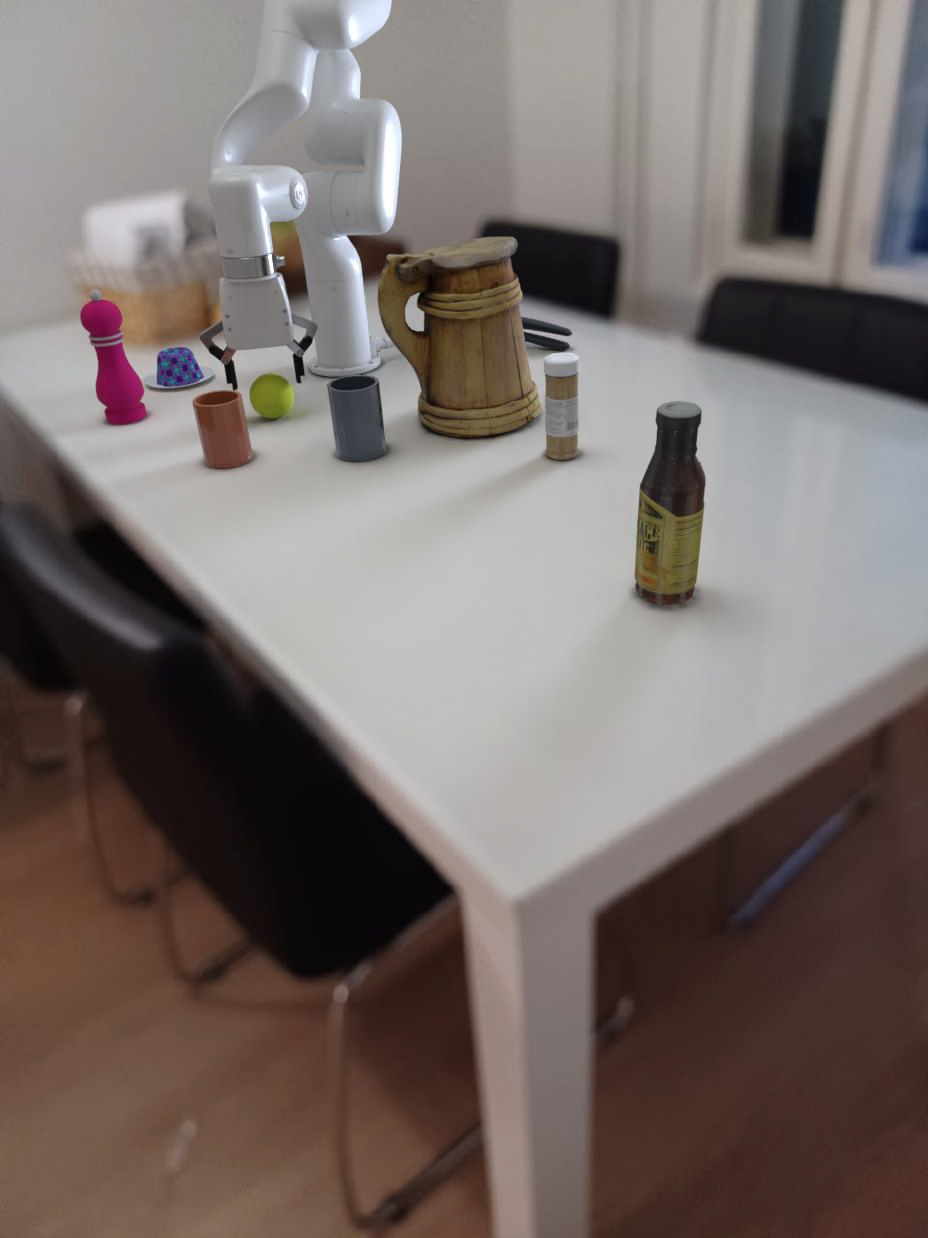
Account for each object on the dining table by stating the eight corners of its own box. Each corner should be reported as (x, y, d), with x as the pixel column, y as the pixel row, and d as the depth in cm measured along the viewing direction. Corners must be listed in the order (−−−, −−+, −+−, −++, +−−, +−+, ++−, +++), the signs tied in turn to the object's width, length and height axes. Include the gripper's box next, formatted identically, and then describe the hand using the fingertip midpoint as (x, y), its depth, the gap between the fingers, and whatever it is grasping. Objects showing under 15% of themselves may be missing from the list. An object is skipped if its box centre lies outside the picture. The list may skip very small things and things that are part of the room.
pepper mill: (136, 426, 149) (103, 295, 139) (95, 425, 151) (59, 295, 140) (158, 410, 155) (127, 283, 145) (117, 409, 157) (85, 284, 146)
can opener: (475, 345, 176) (474, 314, 173) (494, 335, 181) (493, 305, 178) (562, 356, 167) (562, 323, 164) (579, 345, 172) (579, 313, 169)
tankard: (564, 419, 141) (563, 241, 128) (421, 457, 132) (404, 269, 119) (502, 388, 155) (496, 223, 141) (369, 419, 146) (349, 247, 133)
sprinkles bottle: (567, 445, 132) (567, 349, 125) (585, 456, 129) (586, 357, 122) (539, 452, 131) (537, 355, 124) (556, 463, 127) (555, 364, 120)
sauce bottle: (627, 580, 100) (634, 397, 90) (686, 575, 100) (700, 391, 90) (642, 613, 95) (652, 421, 84) (704, 607, 95) (721, 415, 84)
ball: (287, 406, 153) (280, 364, 150) (304, 417, 148) (297, 374, 145) (247, 416, 151) (239, 373, 147) (263, 428, 146) (255, 384, 142)
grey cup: (372, 438, 139) (364, 371, 134) (395, 453, 134) (387, 383, 129) (328, 450, 136) (318, 382, 131) (350, 465, 131) (341, 395, 126)
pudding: (131, 389, 166) (123, 359, 163) (173, 368, 175) (167, 339, 172) (188, 394, 161) (181, 363, 159) (228, 372, 171) (222, 342, 168)
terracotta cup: (242, 446, 139) (231, 386, 135) (259, 460, 135) (248, 398, 130) (199, 458, 137) (186, 397, 132) (215, 472, 132) (201, 409, 127)
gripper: (307, 257, 142) (321, 371, 150) (188, 267, 139) (210, 383, 148) (311, 266, 135) (325, 385, 144) (186, 277, 133) (209, 397, 141)
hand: (267, 384), depth 146 cm, fingers open, 9 cm apart
